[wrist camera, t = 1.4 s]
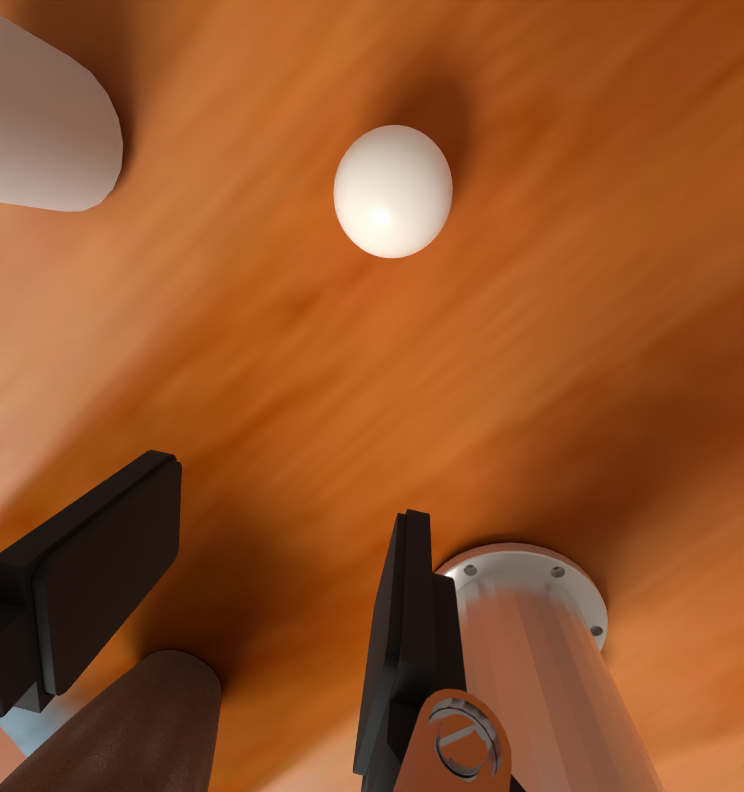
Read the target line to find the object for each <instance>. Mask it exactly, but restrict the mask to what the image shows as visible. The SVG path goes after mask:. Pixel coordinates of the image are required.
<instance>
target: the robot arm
mask: <svg viewBox="0 0 744 792" xmlns="http://www.w3.org/2000/svg"><path fill="white" fill-rule="evenodd" d="M181 476H182V465H181V463H180V462H177V459H176V457H175V456H174V455H172V454H168V453H164V452H159V451H155V450H149V451H147V452H146V453H144V454H143V455H141V456H140V457H138V458H137V459H136V460H134V461H133V462H131V463H130V464H128V465H127V466H125V467H124V468H122V469H121V470H120V471H118V472H117V473H115V474H114V475H112V476H111V477H109V478H108V479H107V480H105V481H104V482H102V483H101V484H99V485H98V486H96V487H95V488H93V489H92V490H91V491H89V492H88V493H86V494H85V495H83V496H82V497H80V498H79V499H78V500H76V501H75V502H73V503H72V504H70V505H69V506H67V507H66V508H64V509H63V510H62V511H60V512H59V513H57V514H56V515H54V516H53V517H51V518H50V519H49V520H47V521H46V522H44V523H43V524H41V525H40V526H38V527H37V528H35V529H34V530H33V531H31V532H30V533H28V534H27V535H25V536H24V537H22V538H21V539H20V540H18V541H17V542H15V543H14V544H12V545H11V546H9V547H8V548H7V549H5V550H4V551H2V552H1V553H0V718H1V717H3V716H5V715H6V714H7V712H8V711H9V710H10V709H11V708H12V707H13V706H14V707H18V708H22V709H26V710H29V711H33V712H37V713H41V712H42V711H43V709H44V708H45V707H46V706H47V705H48V703H49V702H50V701H51V700H52V699H53V698H54V696H55V695H58V696H60V695H62V694H64V693H65V692H66V691H67V690H68V689H69V688H70V687H71V686H72V685H73V683H74V682H75V681H76V680H77V679H78V677H79V676H80V675H81V674H82V673H83V671H84V670H85V669H86V668H87V666H88V665H89V664H90V663H91V662H92V660H93V659H94V658H95V657H96V656H97V654H98V653H99V652H100V651H101V649H102V648H103V647H104V646H105V645H106V643H107V642H108V641H109V640H110V639H111V637H112V636H113V635H114V634H115V633H116V631H117V630H118V629H119V628H120V626H121V625H122V624H123V623H124V622H125V620H126V619H127V618H128V617H129V616H130V614H131V613H132V612H133V611H134V609H135V608H136V607H137V606H138V605H139V603H140V602H141V601H142V600H143V599H144V597H145V596H146V595H147V594H148V592H149V591H150V590H151V589H152V588H153V586H154V585H155V584H156V583H157V582H158V580H159V579H160V578H161V577H162V575H163V574H164V573H165V572H166V571H167V569H168V568H169V567H170V566H171V565H172V563H173V562H174V560H175V558H176V556H177V553H178V549H179V527H180V502H181ZM607 632H608V615H607V610H606V605H605V603H604V601H603V599H602V597H601V595H600V593H599V591H598V589H597V588H596V586H595V584H594V583H593V581H592V580H591V578H590V577H589V576H588V575H587V574H586V573H585V572H584V571H583V570H582V569H581V567H580V566H579V565H577V564H576V563H574V562H573V561H571V560H570V559H568V558H567V557H565V556H563V555H561V554H559V553H556V552H554V551H552V550H550V549H547V548H543V547H539V546H535V545H531V544H521V543H498V544H490V545H485V546H481V547H476V548H473V549H471V550H468V551H466V552H464V553H461V554H459V555H457V556H456V557H454V558H452V559H451V560H449V561H448V562H446V563H445V564H444V565H443V566H442V567H440V568H439V569H438V570H437V571H436V572H435V573H432V557H431V532H430V515H429V514H427V513H423V512H419V511H414V510H410V509H407V511H406V514H401V513H398V514H397V517H396V521H395V525H394V529H393V533H392V537H391V540H390V544H389V548H388V552H387V556H386V560H385V564H384V568H383V572H382V576H381V580H380V584H379V588H378V592H377V596H376V601H375V606H374V612H373V620H372V627H371V635H370V642H369V650H368V658H367V665H366V673H365V680H364V688H363V695H362V703H361V711H360V718H359V726H358V733H357V741H356V749H355V756H354V764H353V773H355V774H359V775H363V779H362V788H361V792H665V790H664V788H663V786H662V784H661V782H660V779H659V777H658V775H657V773H656V771H655V769H654V767H653V764H652V762H651V760H650V758H649V756H648V754H647V752H646V749H645V747H644V745H643V743H642V741H641V739H640V736H639V734H638V732H637V730H636V728H635V726H634V724H633V721H632V719H631V717H630V715H629V713H628V711H627V709H626V706H625V704H624V702H623V700H622V698H621V696H620V693H619V691H618V689H617V687H616V685H615V683H614V681H613V678H612V676H611V674H610V672H609V670H608V668H607V666H606V663H605V661H604V659H603V657H602V655H601V653H600V651H601V649H602V648H603V645H604V642H605V639H606V636H607Z"/></svg>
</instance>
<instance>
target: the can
mask: <svg viewBox="0 0 744 792" xmlns="http://www.w3.org/2000/svg"><path fill="white" fill-rule="evenodd" d="M122 154H123V141H122V135H121V129H120V123H119V118H118V116H117V114H116V112H115V109H114V107H113V105H112V103H111V100H110V98H109V96H108V94H107V92H106V91H105V90H104V88H103V87H102V86H101V85H100V83H99V82H98V81H97V79H96V78H95V77H94V75H93V74H92V73H91V72H90V71H89V70H87V69H86V68H85V67H83V66H82V65H81V64H79V63H78V62H77V61H75V60H74V59H73V58H71V57H70V56H68V55H67V54H65V53H63V52H61V51H60V50H58V49H56V48H55V47H53V46H51V45H50V44H48V43H46V42H45V41H43V40H41V39H40V38H38V37H36V36H34V35H33V34H31V33H29V32H28V31H26V30H24V29H23V28H21V27H19V26H18V25H16V24H14V23H12V22H11V21H9V20H7V19H6V18H4V17H2V16H1V15H0V202H2V203H9V204H15V205H22V206H29V207H36V208H43V209H50V210H56V211H63V212H65V211H84V210H86V209H89V208H91V207H93V206H95V205H97V204H100V203H101V202H102V200H103V199H104V198H105V197H106V196H107V195H108V194H109V193H110V192H111V191H112V190H113V188H114V185H115V183H116V181H117V178H118V176H119V173H120V171H121V166H122Z"/></svg>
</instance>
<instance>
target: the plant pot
mask: <svg viewBox="0 0 744 792" xmlns="http://www.w3.org/2000/svg"><path fill="white" fill-rule="evenodd" d="M221 694H222V688H221V684H220V681H219V679H218V677H217V675H216V674H215V672H214V671H213V670H212V669H211V668H210V667H209V666H208V665H207V664H206V663H204V662H203V661H201V660H200V659H198V658H196V657H195V656H193V655H190V654H188V653H185V652H181V651H176V650H163V651H158V652H155V653H152V654H151V655H149V656H147V657H146V658H145V659H143V660H142V661H141V662H139V663H138V664H137V665H135V666H134V667H133V668H132V669H130V670H129V671H128V672H126V673H125V674H124V675H122V676H121V677H120V678H119V679H117V680H116V681H115V682H114V683H112V684H111V685H110V686H109V687H107V688H106V689H105V690H104V691H103V692H101V693H100V694H99V695H98V696H96V697H95V698H94V699H93V700H92V701H91V702H89V703H88V704H87V705H86V706H85V707H83V708H82V709H81V710H80V711H79V712H78V713H76V714H75V715H74V716H73V717H72V718H71V719H70V720H69V721H67V722H66V723H65V724H64V725H63V726H62V727H61V728H60V729H58V730H57V731H56V732H55V733H54V734H53V735H52V736H51V737H50V738H49V739H47V740H46V741H45V742H44V743H43V744H42V745H41V746H40V747H39V748H38V749H36V750H35V751H34V752H33V753H32V754H31V755H30V756H29V757H28V758H27V759H26V760H25V761H24V762H23V763H22V764H21V765H19V767H17V768H16V769H15V770H14V771H13V772H12V773H11V774H10V775H9V776H8V777H7V778H6V779H5V780H4V781H3V782H2V783H1V784H0V792H207V791H208V786H209V781H210V775H211V770H212V764H213V757H214V751H215V745H216V738H217V730H218V722H219V714H220V705H221Z"/></svg>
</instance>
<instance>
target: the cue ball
mask: <svg viewBox="0 0 744 792" xmlns="http://www.w3.org/2000/svg"><path fill="white" fill-rule="evenodd" d="M452 194H453V185H452V177H451V172H450V169H449V166H448V163H447V161H446V159H445V156H444V155H443V153H442V152H441V150H440V149H439V147H438V146H437V145H436V144H435V143H434V142H433V141H432V140H431V139H430V138H429V137H428V136H426V135H425V134H423V133H422V132H420V131H418V130H416V129H414V128H411V127H407V126H401V125H387V126H382V127H379V128H376V129H373V130H371V131H369V132H367V133H365V134H364V135H362V136H361V137H360V138H358V139H357V140H356V141H355V142H354V143H353V144H352V145H351V146H350V148H349V149H348V150H347V151H346V153H345V155H344V156H343V158H342V160H341V162H340V164H339V167H338V170H337V173H336V177H335V182H334V204H335V210H336V213H337V217H338V219H339V222H340V224H341V226H342V228H343V230H344V231H345V233H346V234H347V235H348V237H349V238H350V239H351V240H352V241H353V242H354V243H355V244H356V245H357V246H359V247H360V248H361V249H363V250H364V251H366V252H368V253H370V254H372V255H375V256H379V257H384V258H400V257H405V256H408V255H411V254H414V253H416V252H418V251H420V250H421V249H423V248H424V247H426V246H427V245H428V244H429V243H431V242H432V241H433V239H434V238H435V237H436V236H437V235H438V234H439V232H440V231H441V229H442V228H443V226H444V224H445V222H446V220H447V217H448V215H449V212H450V208H451V203H452Z"/></svg>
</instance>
